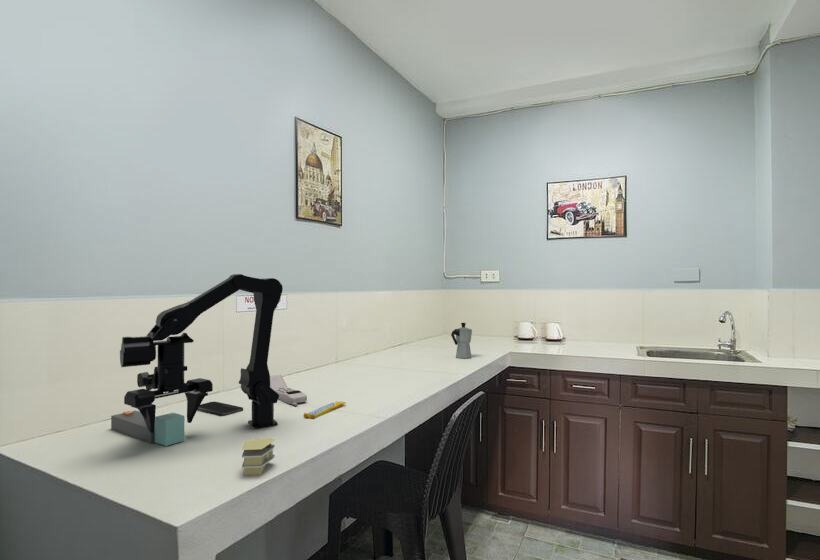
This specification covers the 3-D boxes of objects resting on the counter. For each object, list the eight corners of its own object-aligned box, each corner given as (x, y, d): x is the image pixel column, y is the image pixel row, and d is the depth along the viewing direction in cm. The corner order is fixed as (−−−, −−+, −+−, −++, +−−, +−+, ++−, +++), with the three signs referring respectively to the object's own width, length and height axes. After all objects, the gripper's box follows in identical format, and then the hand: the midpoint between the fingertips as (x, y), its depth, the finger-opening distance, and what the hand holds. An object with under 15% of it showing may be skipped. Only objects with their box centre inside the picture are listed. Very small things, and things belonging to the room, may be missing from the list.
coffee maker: (465, 355, 243) (465, 321, 243) (478, 357, 236) (478, 322, 236) (445, 358, 234) (445, 323, 234) (458, 360, 227) (457, 324, 227)
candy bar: (313, 421, 128) (313, 414, 128) (301, 419, 129) (301, 413, 129) (346, 406, 143) (346, 400, 143) (335, 405, 145) (335, 399, 145)
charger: (184, 440, 110) (184, 415, 110) (165, 446, 107) (165, 420, 107) (167, 434, 114) (167, 410, 115) (148, 440, 111) (149, 415, 111)
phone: (222, 414, 131) (191, 406, 139) (222, 418, 131) (191, 410, 139) (245, 407, 138) (214, 400, 146) (245, 411, 138) (214, 404, 146)
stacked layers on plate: (274, 479, 89) (274, 451, 89) (227, 481, 88) (227, 453, 89) (284, 460, 99) (284, 434, 99) (242, 461, 98) (242, 436, 98)
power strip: (175, 436, 114) (175, 420, 114) (150, 443, 109) (150, 426, 109) (135, 423, 125) (135, 408, 125) (111, 429, 120) (111, 413, 120)
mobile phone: (280, 374, 164) (311, 385, 144) (280, 390, 164) (311, 404, 144) (264, 376, 161) (293, 388, 141) (264, 393, 161) (293, 408, 141)
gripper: (189, 354, 122) (189, 413, 122) (112, 365, 106) (112, 432, 106) (214, 358, 116) (214, 419, 116) (136, 369, 100) (136, 441, 100)
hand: (171, 427), depth 110 cm, fingers open, 9 cm apart
